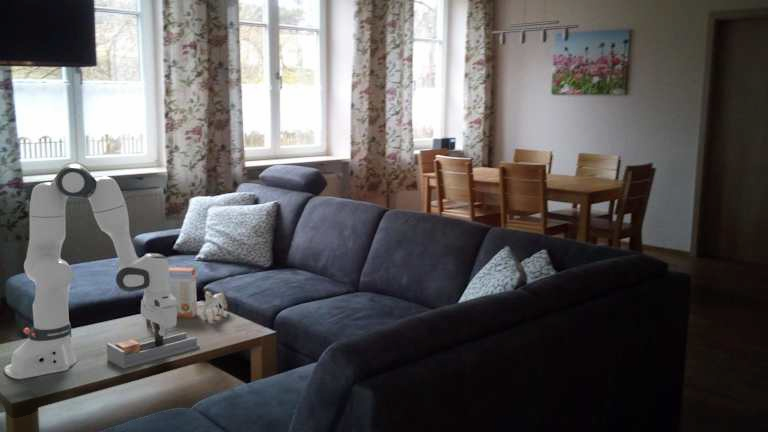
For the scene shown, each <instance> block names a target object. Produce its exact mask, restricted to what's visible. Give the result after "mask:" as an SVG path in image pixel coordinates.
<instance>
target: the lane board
mask: <svg viewBox="0 0 768 432" xmlns="http://www.w3.org/2000/svg"><path fill="white" fill-rule="evenodd" d="M187 337H188V335H187V332H181V333H178V334H174V335H169V336H165V337H163V340H164V345H163V346H159V347H155V348H151V349H147V350H143V351H140V352H136V353H132V354H128V355H125V351H123V350H121V349H120V348H118V347H116V345H114V344H112V343H110V342H108V343H106V355H107V361H110V362H111V363H113V364H115V365H116V366H118V367H119V368H122V369H126V368H129V367H130V368H131V367H133V366H138V365H141V364H142V365H143V364H144V363H148V362H153V361H155V360H159V359H164V358H167V357H171V356H175V355H178V354H182V353H185V352H189V351H192V350H197V349H200V346H201V345H199V344H198V338H197V337H196V336H194V337H190V338H187ZM151 346H155V339H154V340H150V341H146V342H142V343H140V349H143V348H147V347H151Z"/></svg>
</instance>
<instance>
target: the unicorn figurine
mask: <svg viewBox="0 0 768 432" xmlns="http://www.w3.org/2000/svg"><path fill="white" fill-rule="evenodd" d="M204 299H205V301H204V307H203V310H202V315H203V318H204V320H205V321H208V319H209V318H208V314H206V311H207V310H208V309H211V313H212V319H211V321H212V322H213V321H215V320H216V316H219V315H220V316H221V318H222V317H224V311H225V310H227V309H228V303H227V300H226V295H225V293H224V292H219V293H216V294H212V292H209V291H206V292H205V294H204ZM214 307H216V308H217V312H216V313H215V310H214V309H215V308H214ZM220 307H221V310H220ZM224 309H225V310H224Z"/></svg>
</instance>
